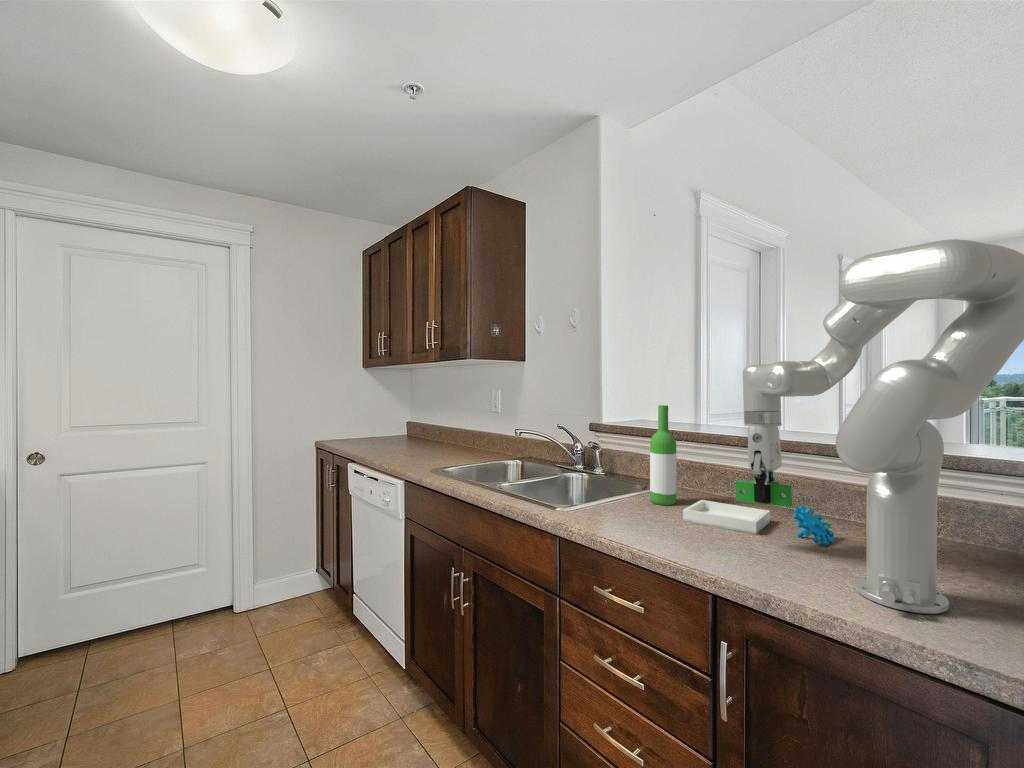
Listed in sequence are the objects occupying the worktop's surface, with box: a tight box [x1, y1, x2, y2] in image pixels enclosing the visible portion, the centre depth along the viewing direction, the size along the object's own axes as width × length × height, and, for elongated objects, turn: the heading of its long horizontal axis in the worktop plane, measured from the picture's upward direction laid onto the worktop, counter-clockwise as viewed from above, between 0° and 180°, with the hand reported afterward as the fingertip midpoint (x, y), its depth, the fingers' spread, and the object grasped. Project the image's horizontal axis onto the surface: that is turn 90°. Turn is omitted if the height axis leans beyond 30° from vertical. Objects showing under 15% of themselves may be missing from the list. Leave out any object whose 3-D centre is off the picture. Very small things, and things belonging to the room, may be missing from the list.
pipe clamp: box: [734, 479, 793, 508], centre depth 109 cm, size 11×4×5 cm, turn 50°
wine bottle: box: [649, 404, 677, 506], centre depth 148 cm, size 8×8×30 cm
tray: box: [682, 499, 771, 536], centre depth 129 cm, size 14×18×3 cm
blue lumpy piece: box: [792, 505, 835, 547], centre depth 114 cm, size 11×6×10 cm
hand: (765, 499), depth 109 cm, fingers closed on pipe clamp, 3 cm apart
